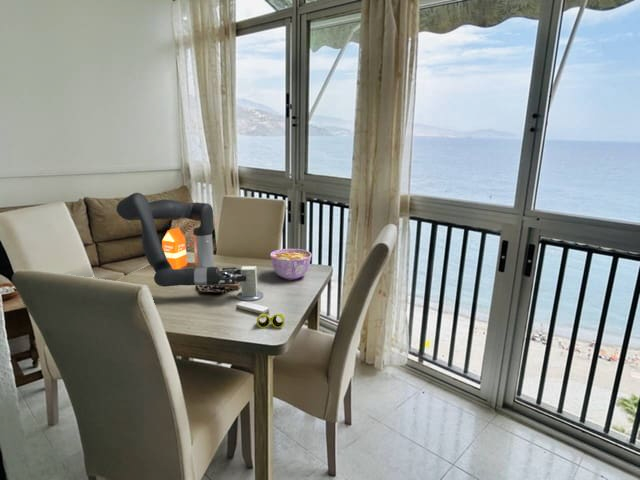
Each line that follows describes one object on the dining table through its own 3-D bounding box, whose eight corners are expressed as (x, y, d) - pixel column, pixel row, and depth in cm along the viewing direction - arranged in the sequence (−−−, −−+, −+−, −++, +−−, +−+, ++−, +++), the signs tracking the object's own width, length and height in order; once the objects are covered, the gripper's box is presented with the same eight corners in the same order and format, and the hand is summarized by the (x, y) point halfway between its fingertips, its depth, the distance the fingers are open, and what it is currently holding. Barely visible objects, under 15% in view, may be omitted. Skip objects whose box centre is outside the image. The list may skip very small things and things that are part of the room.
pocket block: (222, 281, 185) (222, 277, 184) (245, 283, 183) (245, 279, 182) (214, 288, 176) (214, 283, 176) (238, 290, 174) (237, 285, 174)
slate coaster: (242, 290, 174) (242, 289, 174) (266, 292, 172) (266, 291, 172) (232, 300, 163) (232, 298, 163) (258, 302, 162) (258, 300, 162)
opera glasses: (284, 324, 145) (284, 311, 144) (284, 328, 139) (284, 314, 139) (258, 325, 144) (257, 311, 144) (256, 329, 139) (256, 315, 138)
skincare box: (257, 292, 170) (257, 266, 167) (256, 296, 166) (255, 269, 163) (243, 292, 170) (242, 265, 167) (241, 296, 165) (240, 269, 163)
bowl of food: (306, 285, 181) (306, 261, 179) (264, 281, 185) (264, 258, 182) (315, 272, 200) (315, 250, 198) (277, 269, 204) (277, 247, 201)
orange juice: (163, 268, 202) (160, 230, 197) (174, 263, 210) (172, 226, 205) (176, 269, 199) (174, 231, 195) (187, 264, 208) (184, 227, 203)
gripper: (204, 273, 155) (245, 272, 158) (208, 262, 169) (246, 261, 171) (205, 291, 157) (246, 289, 160) (209, 279, 171) (247, 277, 173)
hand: (246, 275), depth 166 cm, fingers open, 8 cm apart
